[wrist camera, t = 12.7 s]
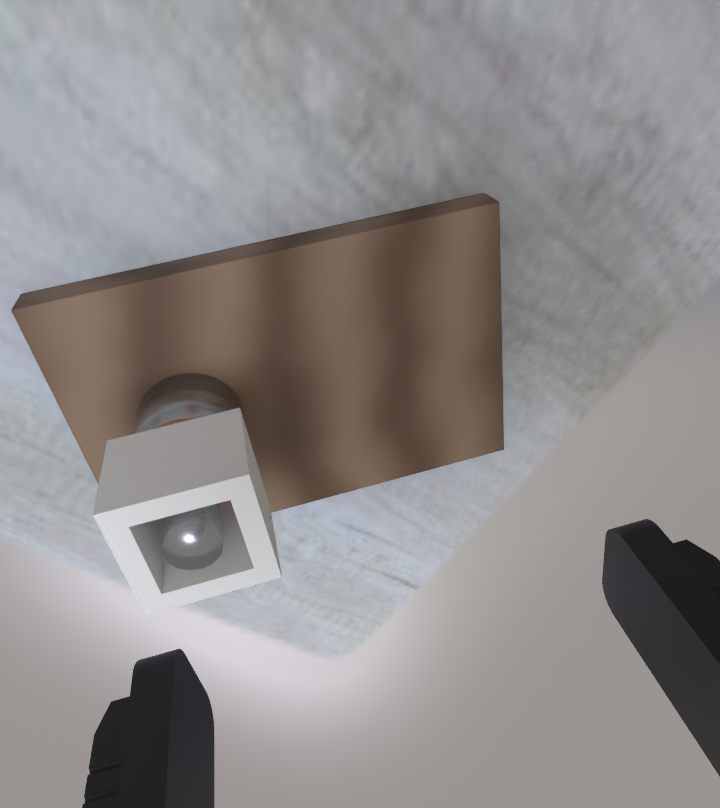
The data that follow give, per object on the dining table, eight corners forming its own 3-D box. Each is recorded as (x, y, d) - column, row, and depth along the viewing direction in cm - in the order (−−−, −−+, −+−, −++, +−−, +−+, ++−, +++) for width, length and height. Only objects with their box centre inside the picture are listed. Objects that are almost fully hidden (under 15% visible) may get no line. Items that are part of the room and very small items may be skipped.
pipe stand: (483, 192, 33) (611, 268, 23) (491, 432, 42) (585, 561, 32) (20, 294, 30) (-61, 429, 20) (133, 527, 39) (116, 701, 29)
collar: (239, 407, 28) (249, 474, 24) (269, 504, 32) (281, 577, 27) (106, 440, 28) (92, 515, 23) (151, 535, 31) (145, 615, 27)
